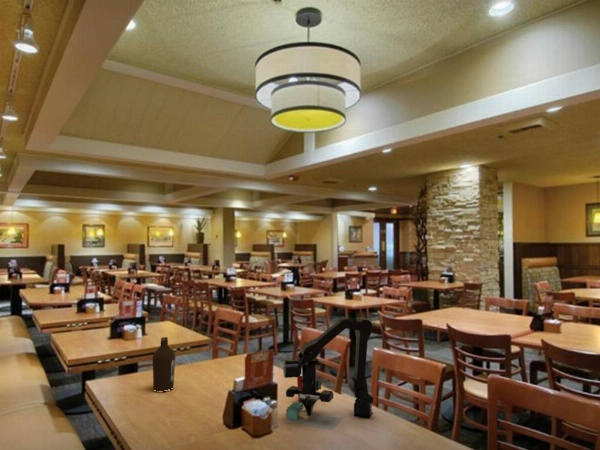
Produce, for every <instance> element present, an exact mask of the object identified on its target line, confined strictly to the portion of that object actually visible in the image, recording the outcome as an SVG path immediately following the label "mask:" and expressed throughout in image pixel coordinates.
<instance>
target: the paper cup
mask: <svg viewBox="0 0 600 450" xmlns="http://www.w3.org/2000/svg"><path fill="white" fill-rule="evenodd" d="M296 379H297V380H296V381H297V387H300V390H302V383H301V380H302V368H301V374H300V376H299V377H296ZM297 398H298V400H297V401H298V403H302V402H301V401H300V400H299V399H300V395H297ZM310 399H311V398H310Z"/></svg>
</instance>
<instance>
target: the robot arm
mask: <svg viewBox="0 0 600 450" xmlns="http://www.w3.org/2000/svg"><path fill="white" fill-rule="evenodd" d="M346 329H347V330H348V329H349V330H354V332H355V333H354V334H355V337H356V346H355V361H354V373H353V374H352V376H349V378H348V381H349V383H348V388H349V391H350V392H351V393H352V395H353V397H355V400H354V403H353V417H355V418H361V419H368V420H369V419H370V418H371V417H372V415H373V414H374V412H372V409H373V408H372V407H373V405H372V404H373V403H374V397H373V396H372V395H371V394H370V393H369V387H368V382H367V377H366V369H367V366H366V365H367V356H368V353H367V352H368V342H369V339H370V337H371V336H372V330H373V323H372V321H370V320H369V319H367V318H365V317H362V316H360V317H358V318H355V317H354V318H350V317H349V318H348V317H343V316H342V317H340V318H339V319H338V320H337V321H336V322H335V323H333V324H332V325H331V326H329V328H327V329H326V330H325V331H324V332H322V333H321V334H319V336H318V337H316V338H314V339H311V340H309V341H307V342H305V343H303V344H302V346H301V347H300V351H299V353H298V355H297V356H296V359H284V360H283V361H284V363H283V368H282V370H283V371H282V373H283V378H284V379H289V378H297V377H299V376H300V374H301V369H302V380H301V383H302V390H300V387H298V385H297V386H296V385H291V386H290V387H288V388H286V390H285V396H286V398H293V397H295V395H297V396H298V395H300V399H299V400H300V401H301V402H302V403H303V408H304V410H306V411H307V413H308V415H309V416H311V413H313V410H314V406H315V404H316V402H317V401H321V402H324V403H330V402H331V401H332V400H333V399H334V392H333V390H327V389H323V390H322V391H321V392H319V390H321V389H322V382H323V381H322V380H321V381H320V380H319V378H318V377H317V366H320V365H322V362H320V361H319V359H318V356H319V355H320V354H321V352H322V350H323V349H324V348H325V347H326V346H327V345H328V344H329V343H330V342H331V341H333V340H334V339H335V338H336V337H337V336H339V335H340V334H341V333H342V332H343V331H345V330H346ZM310 398H311V399H310ZM299 400H298V401H299Z"/></svg>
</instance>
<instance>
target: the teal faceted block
mask: <svg viewBox="0 0 600 450" xmlns="http://www.w3.org/2000/svg"><path fill="white" fill-rule="evenodd" d="M299 409H301V410H304V405H303V403H299V401H293V402H292V403H291V404H289V406H287V409H286V410H287V416H286V419H292V420H297V419H298V410H299Z"/></svg>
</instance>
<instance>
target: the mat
mask: <svg viewBox="0 0 600 450" xmlns="http://www.w3.org/2000/svg"><path fill="white" fill-rule="evenodd" d="M342 419H343V418H342V417H337V416H332V415H326V414H321V413H314V412H312V413H311V416H309V418H308V419H307V420H305V419H299V418H298V419H297V420H292V419H287V418H286V419H285V420H284V422H286V423H293V424H297V425H301V426H302V425H303V426H308V427H314V428H318V429H319V428H320V429H326V430H331V431H332V430H334V428H335V427H336V426H337V425H338V424H339V423H340V421H341V420H342Z"/></svg>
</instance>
